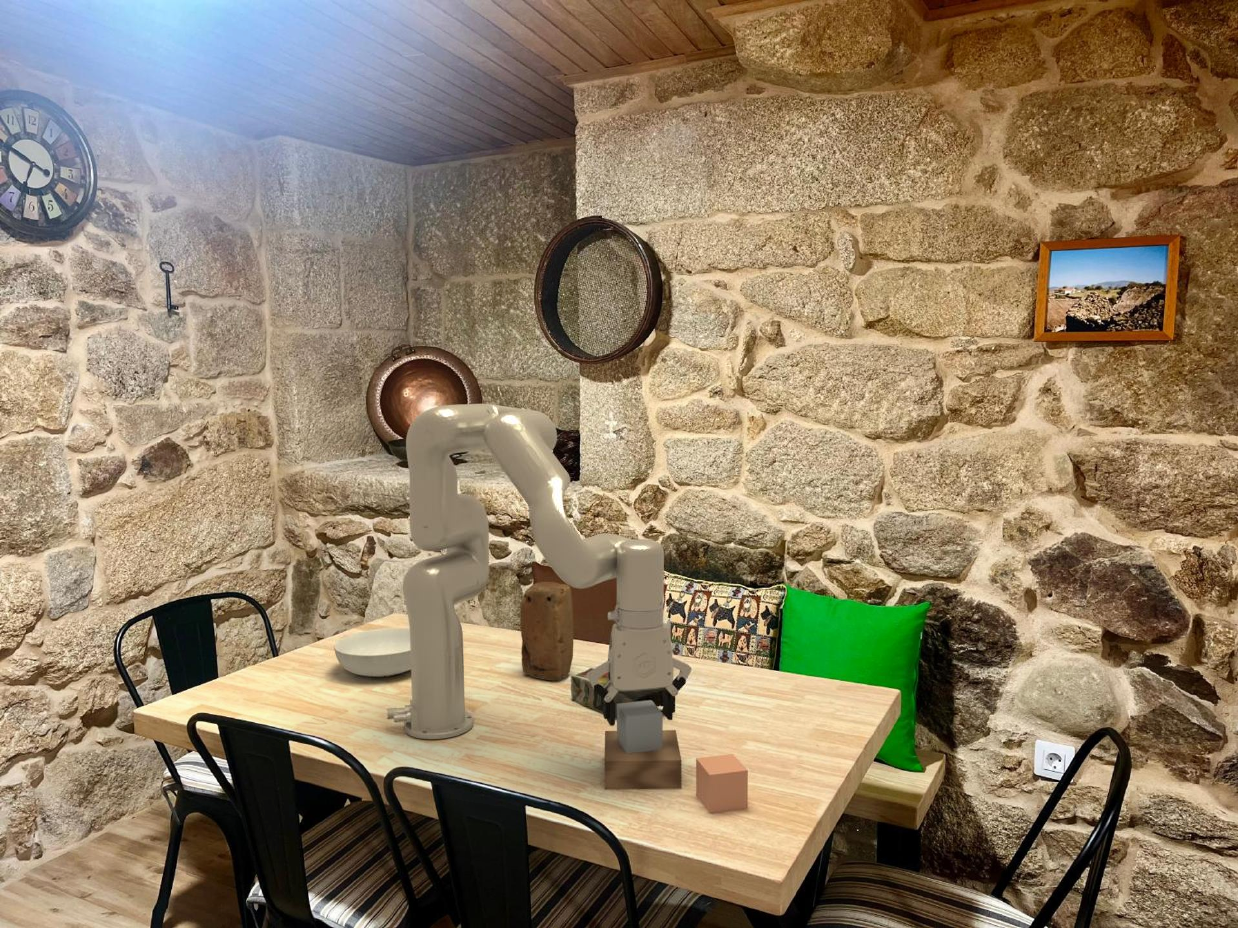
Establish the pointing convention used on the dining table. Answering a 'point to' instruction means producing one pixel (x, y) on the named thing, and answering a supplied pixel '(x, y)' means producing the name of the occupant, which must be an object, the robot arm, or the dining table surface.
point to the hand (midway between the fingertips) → (639, 719)
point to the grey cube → (639, 726)
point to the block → (547, 630)
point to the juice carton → (589, 698)
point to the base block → (642, 765)
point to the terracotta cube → (721, 783)
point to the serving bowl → (375, 652)
